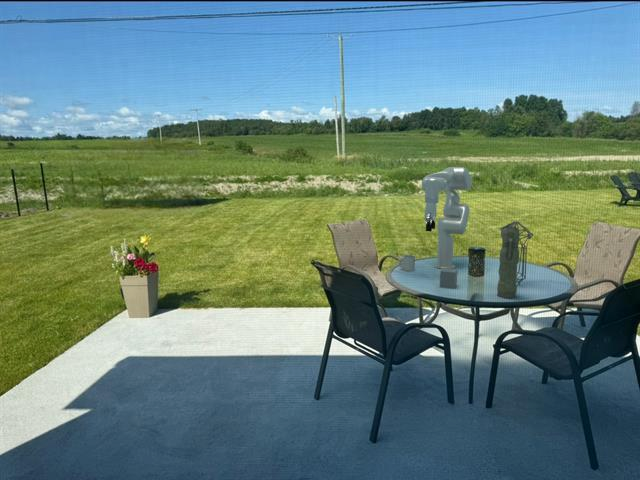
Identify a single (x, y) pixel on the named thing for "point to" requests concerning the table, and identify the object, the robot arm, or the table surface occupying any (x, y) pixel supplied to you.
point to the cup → (407, 262)
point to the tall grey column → (508, 263)
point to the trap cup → (448, 278)
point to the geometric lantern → (518, 247)
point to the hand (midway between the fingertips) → (430, 230)
